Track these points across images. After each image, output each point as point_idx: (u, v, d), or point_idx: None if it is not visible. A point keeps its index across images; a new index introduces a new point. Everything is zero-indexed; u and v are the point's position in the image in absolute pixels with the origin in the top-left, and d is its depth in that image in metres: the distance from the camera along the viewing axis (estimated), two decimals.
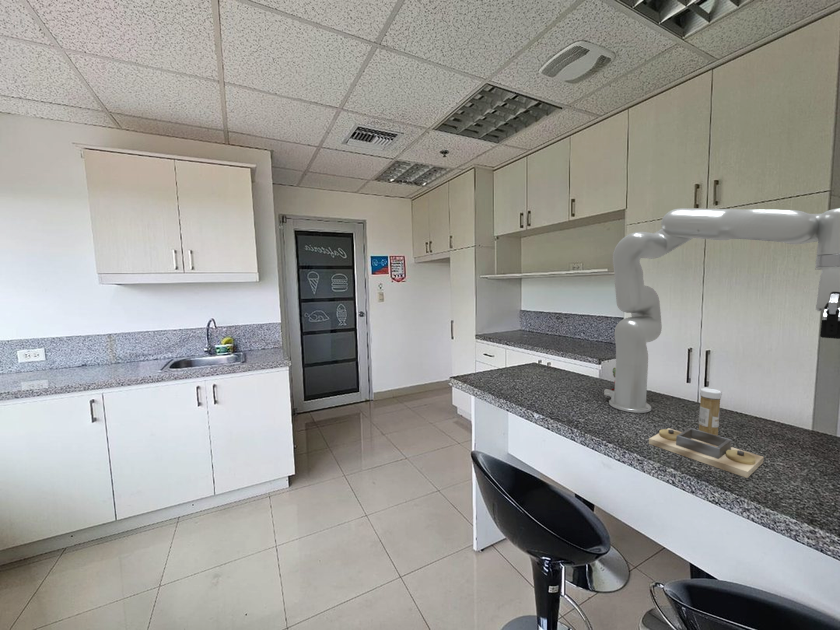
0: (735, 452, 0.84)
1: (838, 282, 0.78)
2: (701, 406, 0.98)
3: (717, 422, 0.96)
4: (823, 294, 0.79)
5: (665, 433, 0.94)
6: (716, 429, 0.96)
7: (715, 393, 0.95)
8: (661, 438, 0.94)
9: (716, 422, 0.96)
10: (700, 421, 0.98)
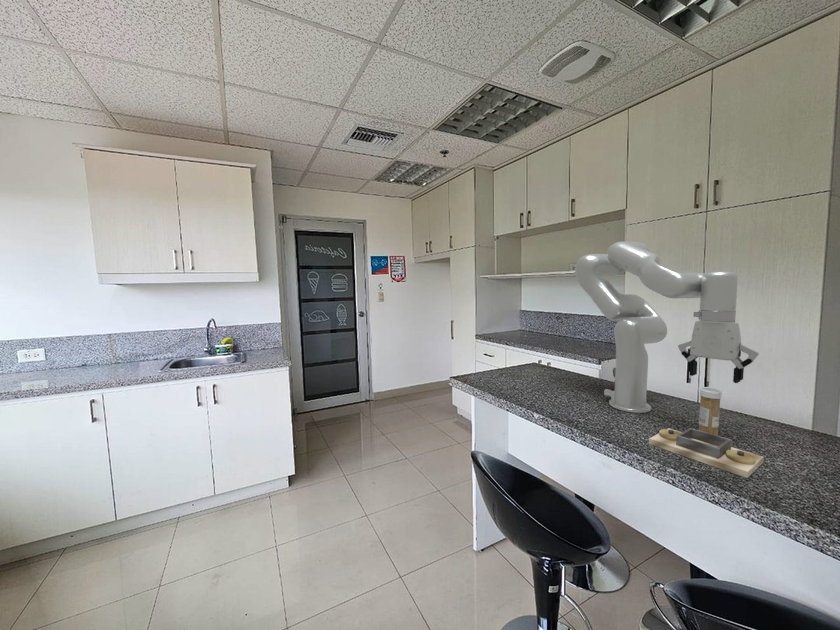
0: (735, 452, 0.84)
1: (739, 334, 0.92)
2: (701, 406, 0.98)
3: (717, 422, 0.96)
4: (737, 346, 0.91)
5: (665, 433, 0.94)
6: (716, 429, 0.96)
7: (715, 393, 0.95)
8: (661, 438, 0.94)
9: (716, 422, 0.96)
10: (700, 421, 0.98)
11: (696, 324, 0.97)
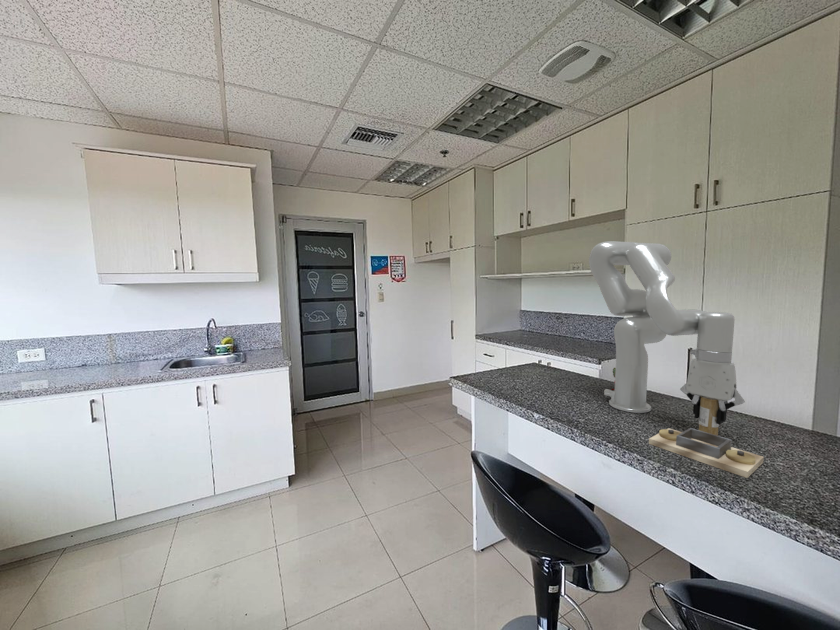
0: (735, 452, 0.84)
1: (735, 375, 0.93)
2: (701, 406, 0.98)
3: None
4: (732, 387, 0.92)
5: (665, 433, 0.94)
6: (716, 429, 0.96)
7: None
8: (661, 438, 0.94)
9: None
10: (700, 421, 0.98)
11: (693, 362, 0.98)
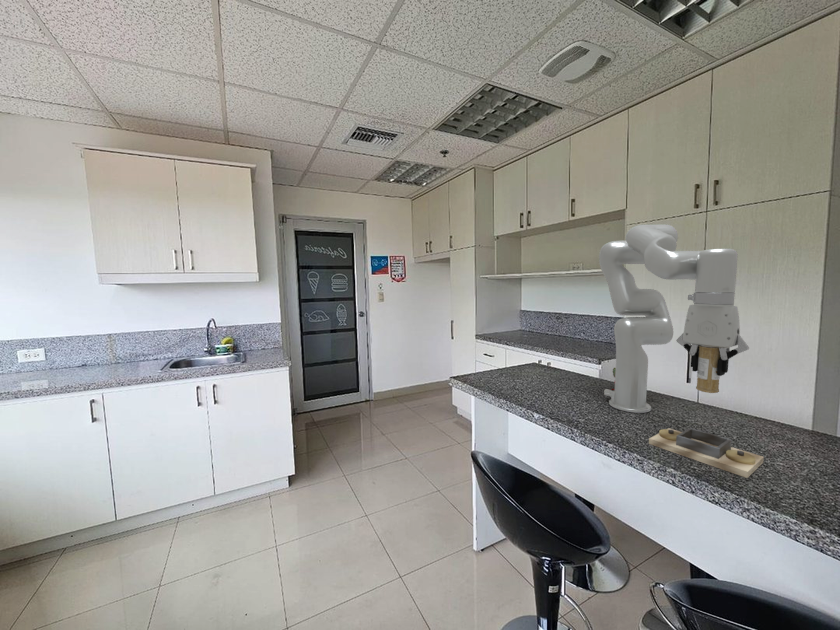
0: (735, 452, 0.84)
1: (738, 319, 0.82)
2: (700, 357, 0.87)
3: None
4: (735, 332, 0.81)
5: (665, 433, 0.94)
6: (717, 382, 0.85)
7: None
8: (661, 438, 0.94)
9: None
10: (699, 374, 0.87)
11: (690, 308, 0.87)
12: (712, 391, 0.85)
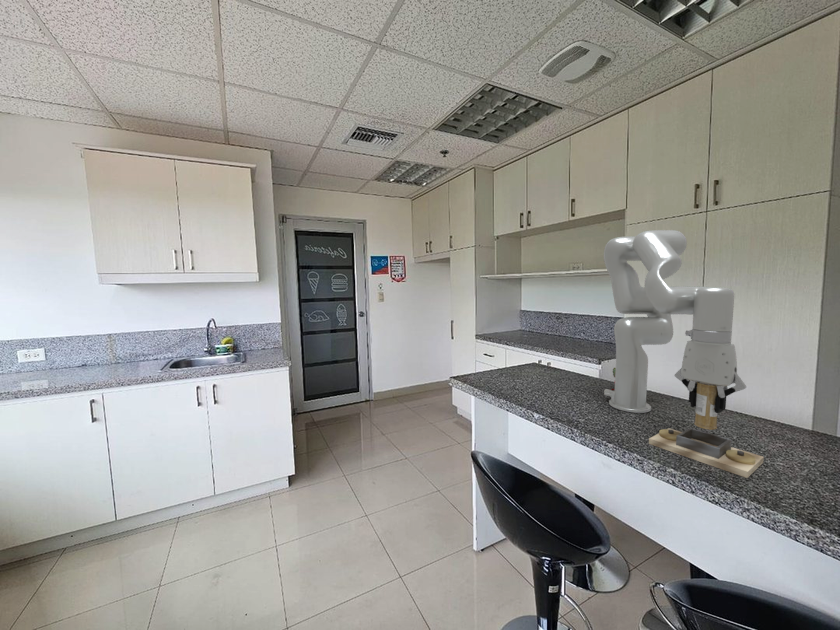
0: (735, 452, 0.84)
1: (735, 358, 0.83)
2: (698, 393, 0.88)
3: None
4: (732, 371, 0.82)
5: (665, 433, 0.94)
6: (715, 419, 0.86)
7: None
8: (661, 438, 0.94)
9: None
10: (697, 410, 0.88)
11: (688, 344, 0.88)
12: (710, 428, 0.86)
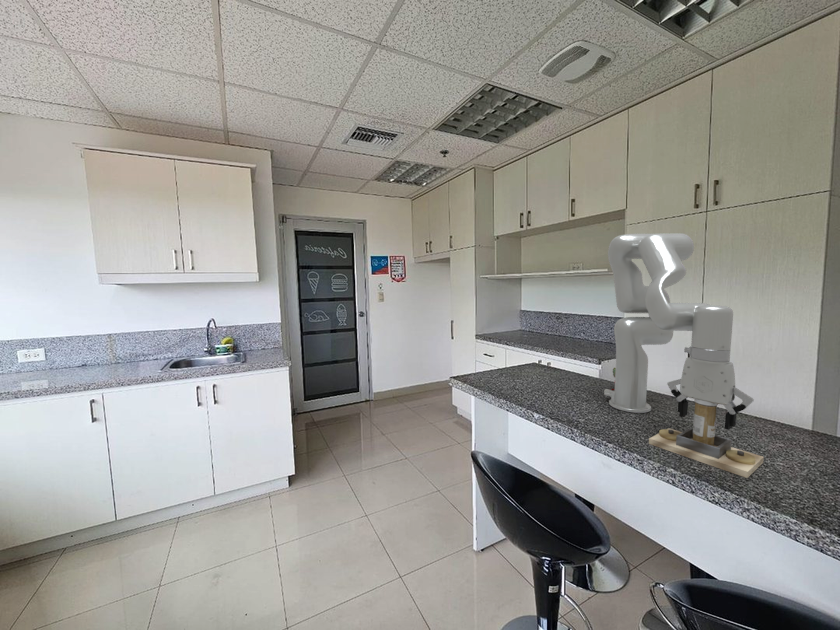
0: (735, 452, 0.84)
1: (734, 376, 0.83)
2: (695, 414, 0.88)
3: (713, 431, 0.86)
4: (731, 390, 0.82)
5: (665, 433, 0.94)
6: (712, 439, 0.87)
7: None
8: (661, 438, 0.94)
9: (712, 432, 0.86)
10: (694, 430, 0.89)
11: (687, 361, 0.89)
12: None
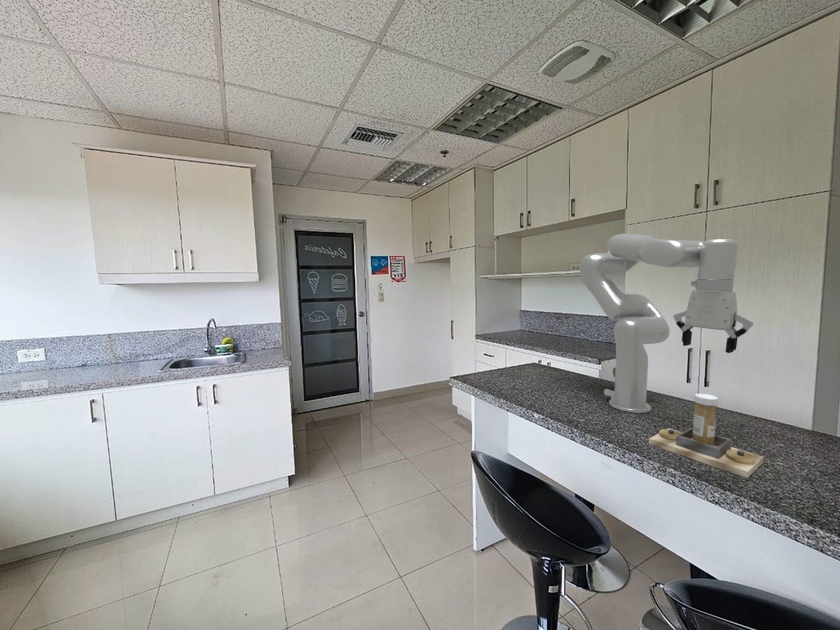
0: (735, 452, 0.84)
1: (736, 304, 0.90)
2: (695, 414, 0.88)
3: (713, 431, 0.86)
4: (732, 315, 0.89)
5: (665, 433, 0.94)
6: (712, 439, 0.87)
7: (711, 399, 0.86)
8: (661, 438, 0.94)
9: (712, 432, 0.86)
10: (694, 430, 0.89)
11: (692, 293, 0.95)
12: None
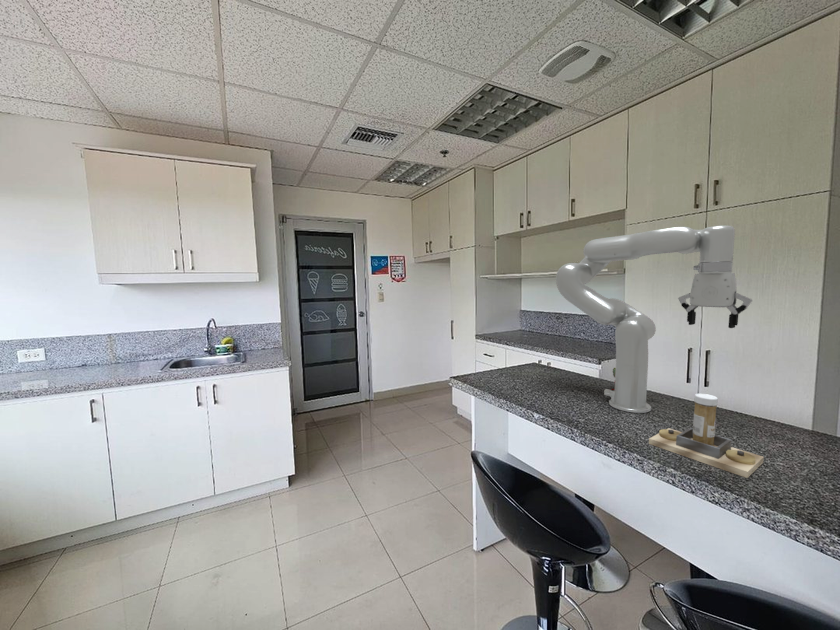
0: (735, 452, 0.84)
1: (735, 283, 0.99)
2: (695, 414, 0.88)
3: (713, 431, 0.86)
4: (733, 294, 0.98)
5: (665, 433, 0.94)
6: (712, 439, 0.87)
7: (711, 399, 0.86)
8: (661, 438, 0.94)
9: (712, 432, 0.86)
10: (694, 430, 0.89)
11: (695, 276, 1.05)
12: None
